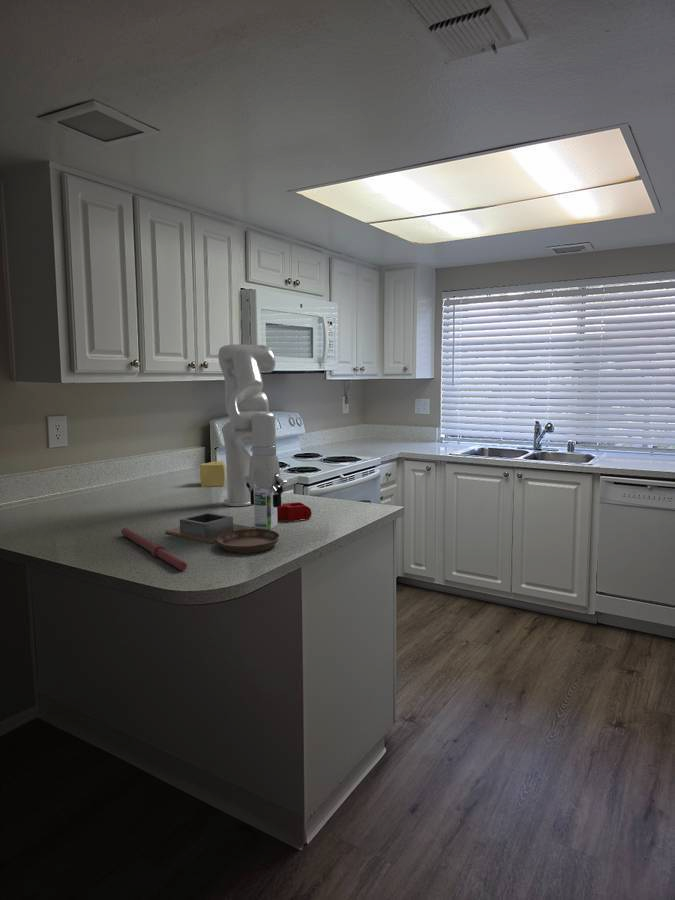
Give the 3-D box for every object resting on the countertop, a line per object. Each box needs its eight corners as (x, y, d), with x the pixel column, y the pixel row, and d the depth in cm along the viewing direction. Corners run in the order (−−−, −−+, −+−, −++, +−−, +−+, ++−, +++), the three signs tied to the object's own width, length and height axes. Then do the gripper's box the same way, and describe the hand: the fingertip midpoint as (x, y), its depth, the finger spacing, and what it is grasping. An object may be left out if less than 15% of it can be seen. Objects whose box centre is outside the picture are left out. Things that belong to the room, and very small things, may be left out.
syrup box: (253, 528, 197) (252, 483, 195) (262, 524, 202) (261, 480, 200) (270, 530, 195) (268, 484, 193) (278, 525, 200) (277, 481, 198)
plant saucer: (245, 559, 164) (245, 548, 164) (204, 548, 176) (204, 537, 175) (292, 545, 178) (292, 535, 177) (251, 535, 189) (251, 525, 189)
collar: (209, 521, 207) (209, 507, 206) (257, 530, 194) (257, 515, 193) (165, 533, 193) (165, 517, 192) (214, 543, 179) (213, 527, 179)
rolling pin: (189, 571, 155) (188, 558, 155) (177, 573, 153) (176, 561, 153) (130, 535, 191) (129, 525, 191) (119, 537, 189) (119, 527, 189)
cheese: (202, 483, 283) (202, 461, 281) (226, 482, 284) (226, 461, 283) (200, 487, 272) (199, 464, 271) (225, 486, 274) (224, 464, 272)
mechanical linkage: (304, 515, 215) (304, 501, 215) (311, 520, 209) (311, 505, 208) (260, 520, 209) (259, 505, 209) (265, 524, 203) (265, 509, 202)
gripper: (236, 451, 198) (238, 504, 199) (276, 454, 187) (278, 510, 189) (252, 449, 204) (254, 500, 205) (292, 451, 193) (294, 505, 195)
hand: (265, 505), depth 197 cm, fingers open, 9 cm apart
